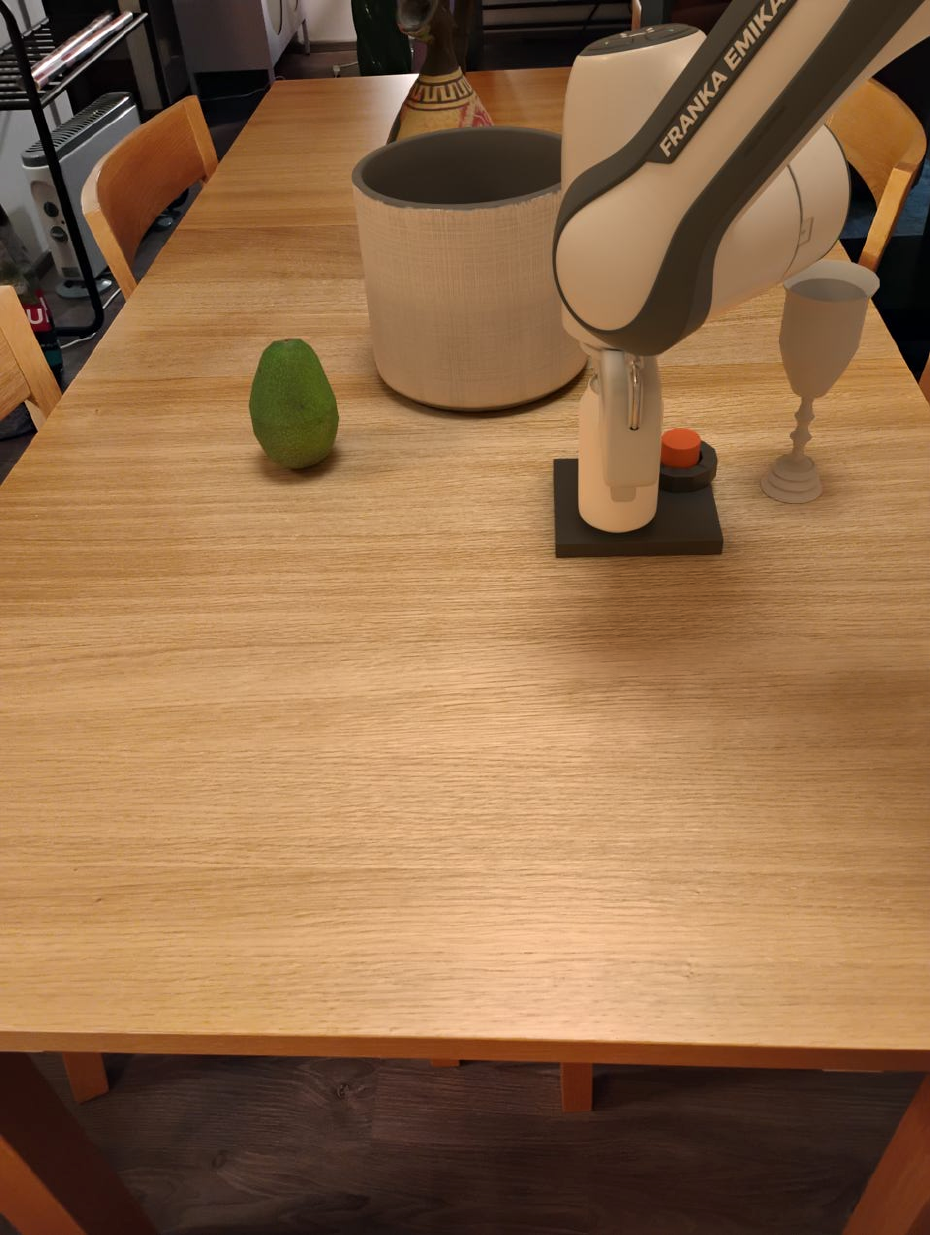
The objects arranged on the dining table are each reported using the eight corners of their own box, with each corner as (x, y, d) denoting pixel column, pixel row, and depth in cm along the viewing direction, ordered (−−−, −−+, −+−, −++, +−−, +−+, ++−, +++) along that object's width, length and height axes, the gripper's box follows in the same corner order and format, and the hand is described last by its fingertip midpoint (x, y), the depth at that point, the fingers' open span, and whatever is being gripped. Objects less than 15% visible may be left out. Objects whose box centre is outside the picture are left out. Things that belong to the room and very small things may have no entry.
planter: (633, 351, 103) (643, 147, 89) (493, 446, 92) (480, 228, 78) (474, 299, 115) (462, 111, 101) (333, 377, 103) (298, 177, 90)
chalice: (747, 460, 87) (776, 259, 75) (827, 462, 86) (871, 258, 74) (753, 510, 82) (786, 302, 70) (839, 512, 81) (887, 302, 69)
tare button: (696, 448, 84) (698, 427, 83) (700, 469, 82) (703, 448, 81) (658, 449, 85) (659, 428, 83) (661, 470, 82) (663, 449, 81)
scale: (708, 464, 87) (711, 434, 85) (729, 554, 78) (733, 523, 76) (553, 468, 88) (553, 439, 86) (555, 557, 79) (555, 527, 77)
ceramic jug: (470, 280, 119) (450, -12, 98) (365, 259, 125) (327, -18, 105) (538, 228, 129) (533, -46, 109) (438, 212, 135) (416, -49, 115)
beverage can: (563, 510, 81) (562, 378, 73) (625, 485, 83) (631, 354, 75) (607, 549, 77) (612, 414, 69) (672, 522, 79) (683, 387, 71)
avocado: (363, 457, 92) (344, 337, 84) (295, 495, 88) (268, 373, 80) (310, 428, 96) (287, 311, 88) (243, 463, 92) (213, 343, 84)
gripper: (691, 370, 60) (674, 550, 69) (659, 237, 75) (649, 399, 84) (585, 373, 60) (583, 552, 70) (575, 241, 75) (574, 402, 85)
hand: (619, 467), depth 77 cm, fingers closed on beverage can, 6 cm apart
